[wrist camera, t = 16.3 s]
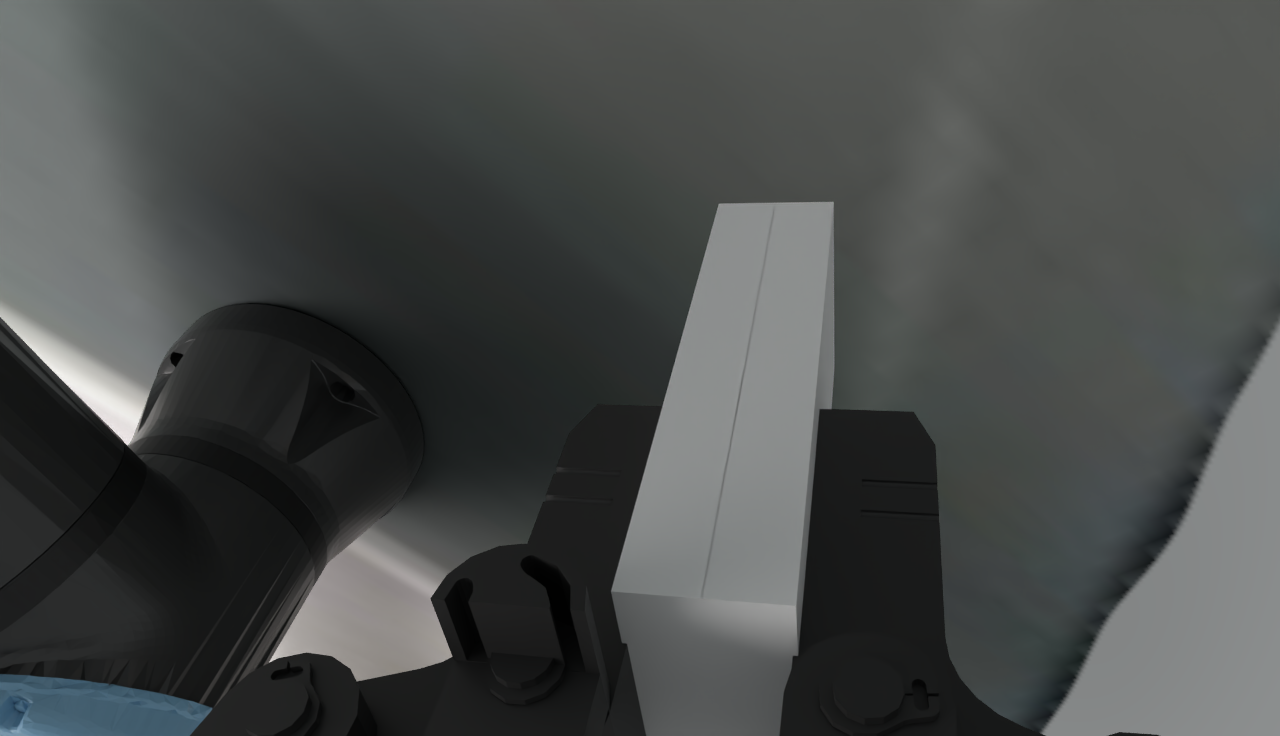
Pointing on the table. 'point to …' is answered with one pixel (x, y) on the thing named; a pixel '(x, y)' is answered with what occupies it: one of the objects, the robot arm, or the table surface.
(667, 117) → the table surface
